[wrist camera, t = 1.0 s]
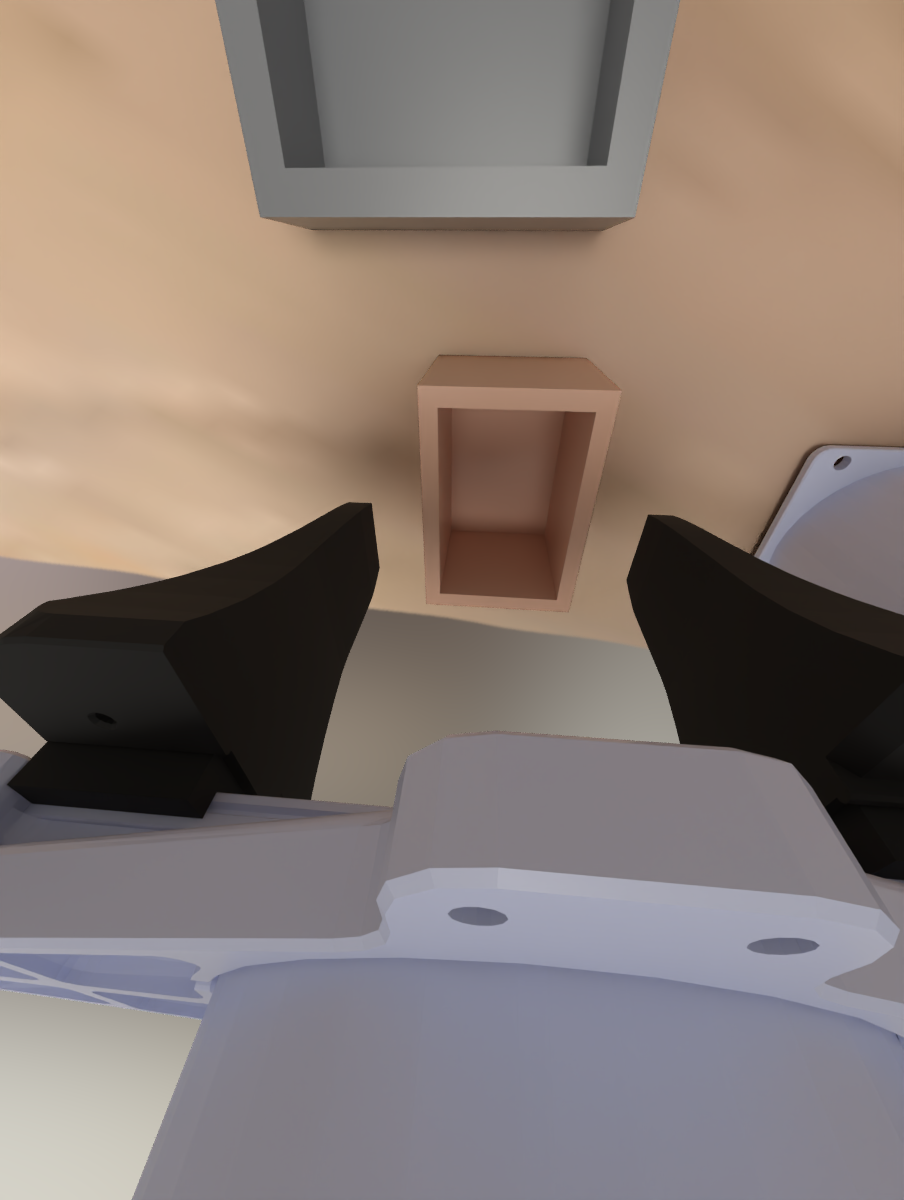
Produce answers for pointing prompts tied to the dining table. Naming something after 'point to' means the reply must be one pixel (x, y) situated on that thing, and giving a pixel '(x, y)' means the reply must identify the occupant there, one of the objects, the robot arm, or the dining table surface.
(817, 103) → the dining table surface
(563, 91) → the large crate
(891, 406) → the dining table surface
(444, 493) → the small crate
